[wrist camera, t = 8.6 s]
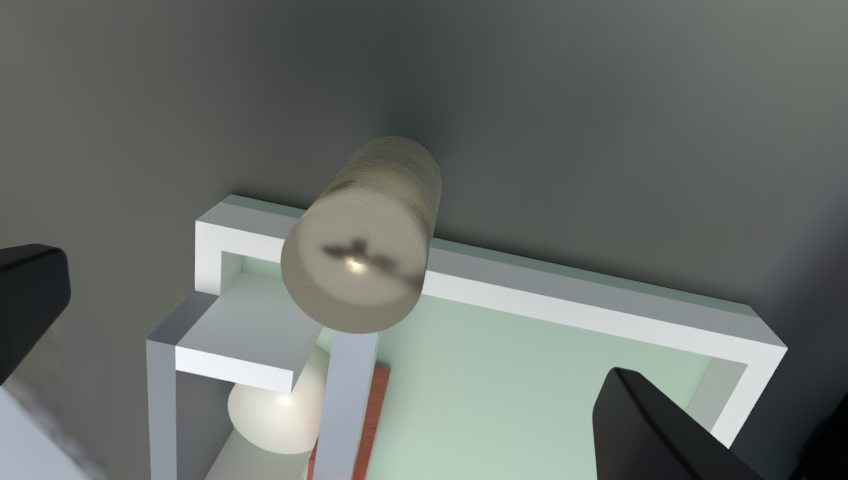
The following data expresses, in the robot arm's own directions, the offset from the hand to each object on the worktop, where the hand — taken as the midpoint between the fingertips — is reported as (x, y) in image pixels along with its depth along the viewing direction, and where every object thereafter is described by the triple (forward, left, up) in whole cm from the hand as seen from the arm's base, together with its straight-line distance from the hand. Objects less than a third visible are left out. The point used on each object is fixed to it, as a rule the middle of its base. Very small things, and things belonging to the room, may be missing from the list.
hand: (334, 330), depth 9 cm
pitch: (-4, +12, -13) cm, 18 cm away
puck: (+3, +12, -12) cm, 17 cm away
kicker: (0, +9, -12) cm, 15 cm away
